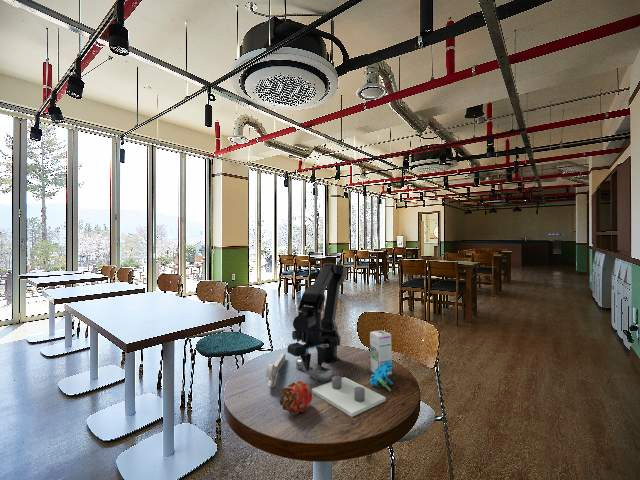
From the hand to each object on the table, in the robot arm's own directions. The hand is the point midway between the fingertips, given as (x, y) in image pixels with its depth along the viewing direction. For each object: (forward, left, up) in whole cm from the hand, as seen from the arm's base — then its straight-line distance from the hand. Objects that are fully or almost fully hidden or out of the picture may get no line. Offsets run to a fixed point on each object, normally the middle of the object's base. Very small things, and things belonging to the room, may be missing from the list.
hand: (313, 368), depth 114 cm
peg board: (+2, +20, -2) cm, 20 cm away
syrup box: (-19, +15, -2) cm, 24 cm away
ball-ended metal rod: (0, 0, -2) cm, 2 cm away
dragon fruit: (+19, +17, -2) cm, 25 cm away
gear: (-12, +21, -2) cm, 25 cm away
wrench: (+11, -7, -2) cm, 13 cm away
